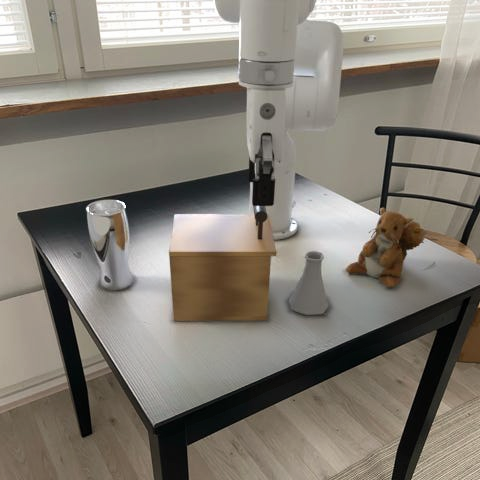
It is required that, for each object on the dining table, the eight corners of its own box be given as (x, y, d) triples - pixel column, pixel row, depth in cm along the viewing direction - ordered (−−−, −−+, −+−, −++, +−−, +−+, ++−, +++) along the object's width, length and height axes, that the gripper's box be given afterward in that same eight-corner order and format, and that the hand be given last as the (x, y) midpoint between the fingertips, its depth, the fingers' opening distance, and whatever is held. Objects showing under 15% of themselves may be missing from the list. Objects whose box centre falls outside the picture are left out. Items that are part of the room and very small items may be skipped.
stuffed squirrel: (342, 273, 98) (352, 211, 90) (380, 250, 106) (392, 190, 98) (386, 293, 92) (401, 228, 85) (423, 267, 101) (440, 205, 93)
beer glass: (100, 272, 96) (88, 199, 87) (136, 272, 97) (128, 198, 88) (95, 292, 91) (81, 216, 82) (133, 291, 91) (124, 215, 82)
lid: (268, 218, 89) (270, 186, 85) (276, 256, 77) (278, 221, 74) (174, 218, 88) (173, 186, 84) (169, 256, 77) (166, 221, 73)
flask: (327, 319, 86) (335, 268, 80) (285, 313, 87) (290, 263, 81) (329, 296, 91) (337, 247, 85) (290, 291, 92) (295, 243, 86)
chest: (260, 278, 96) (264, 218, 89) (266, 320, 85) (271, 256, 77) (178, 278, 95) (174, 218, 88) (173, 321, 84) (169, 256, 77)
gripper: (302, 86, 61) (290, 215, 71) (286, 63, 75) (278, 174, 85) (241, 85, 61) (238, 215, 71) (236, 62, 75) (234, 173, 85)
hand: (260, 192), depth 78 cm, fingers open, 9 cm apart
